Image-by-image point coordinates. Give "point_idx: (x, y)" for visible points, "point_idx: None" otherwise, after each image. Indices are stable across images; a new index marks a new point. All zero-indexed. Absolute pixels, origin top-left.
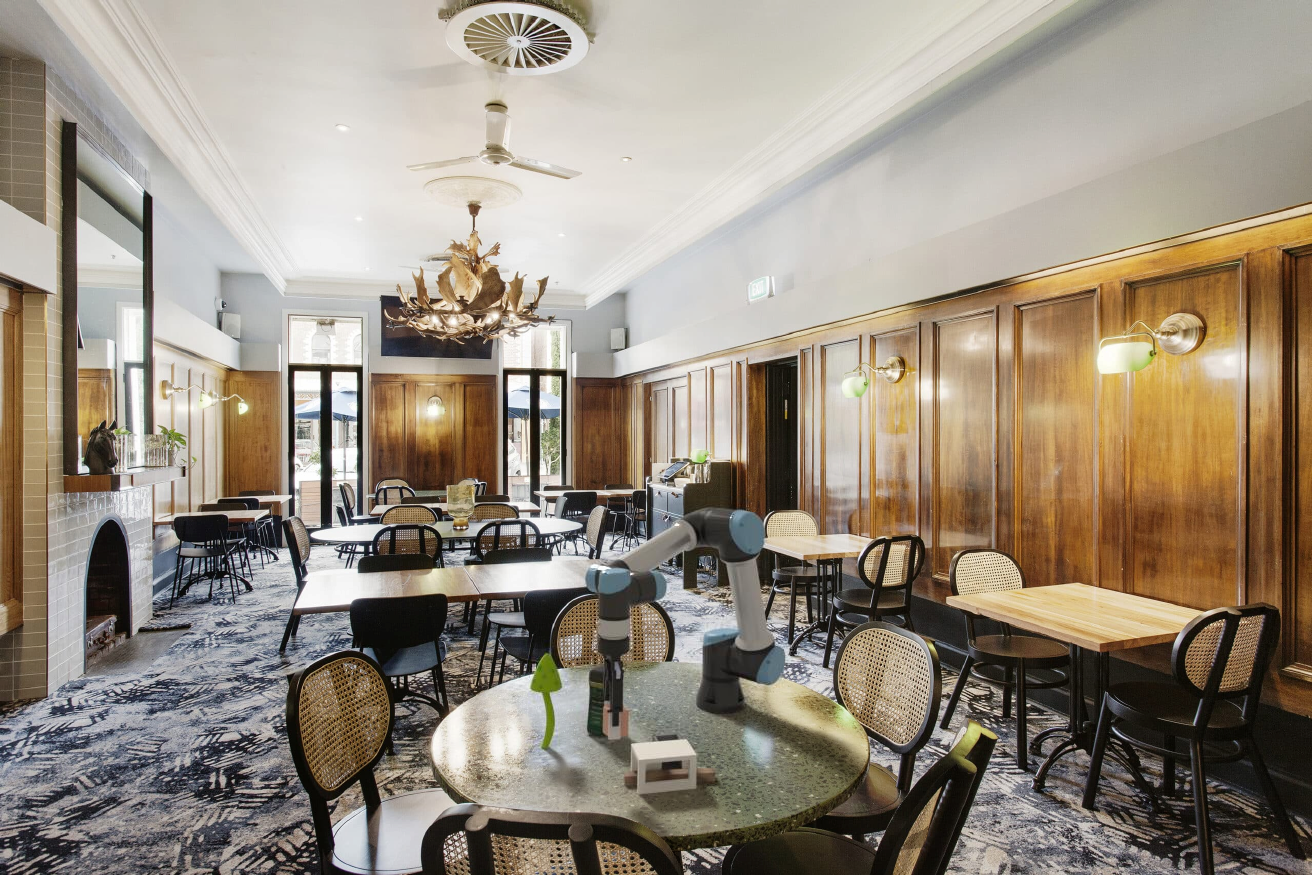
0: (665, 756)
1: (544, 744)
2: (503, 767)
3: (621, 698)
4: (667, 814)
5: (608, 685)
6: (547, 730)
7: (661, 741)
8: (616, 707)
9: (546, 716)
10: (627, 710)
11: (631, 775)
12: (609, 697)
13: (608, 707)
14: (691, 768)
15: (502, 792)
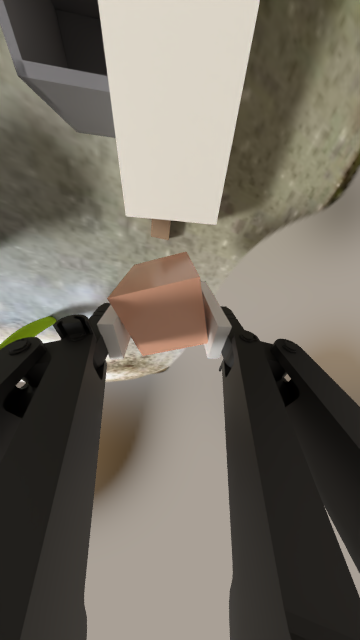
0: (230, 114)
1: (53, 323)
2: None
3: (355, 415)
4: (276, 190)
5: (93, 447)
6: (38, 333)
7: (108, 61)
8: (284, 374)
9: None
10: (200, 283)
11: (167, 225)
12: (99, 357)
13: (149, 343)
14: None
15: (157, 354)
